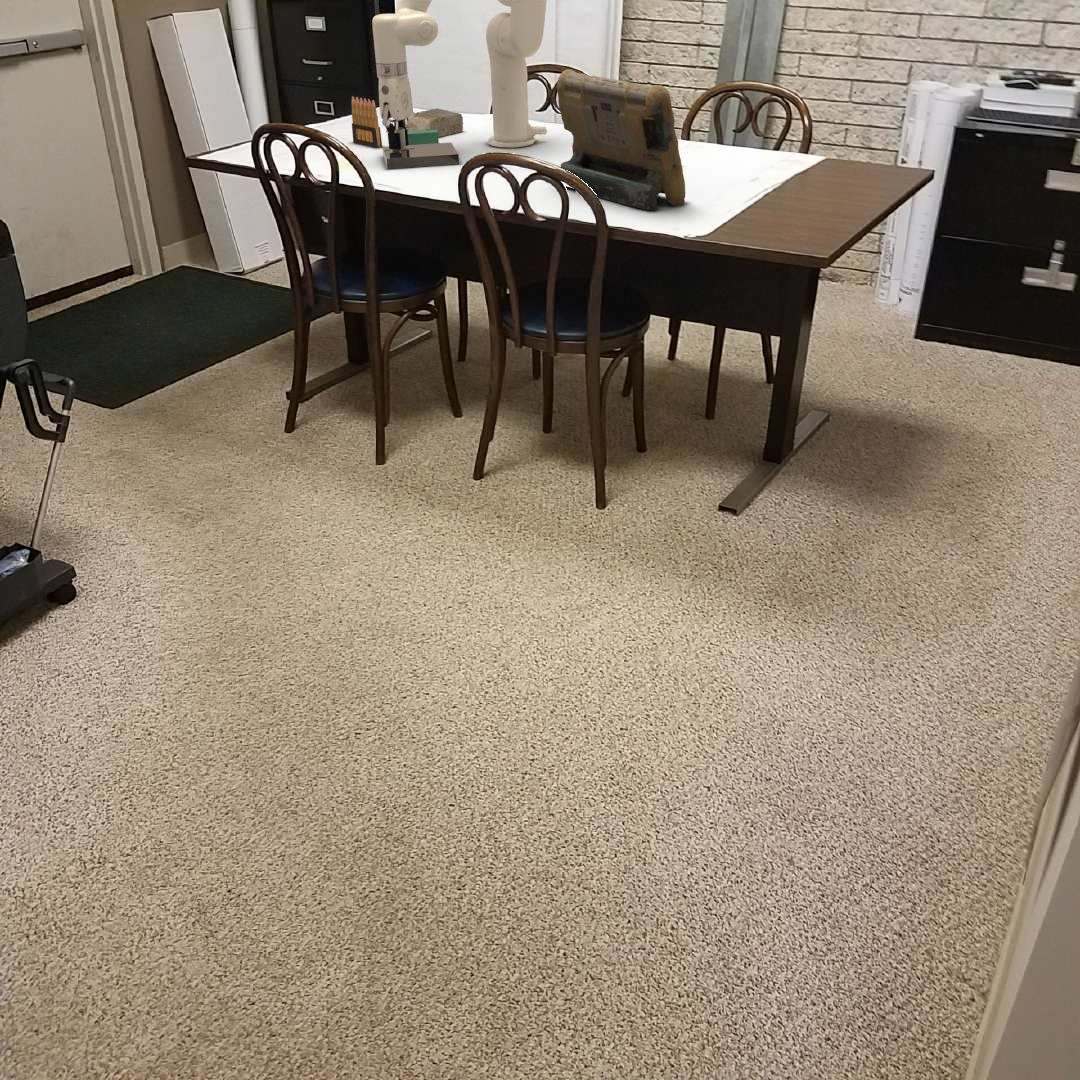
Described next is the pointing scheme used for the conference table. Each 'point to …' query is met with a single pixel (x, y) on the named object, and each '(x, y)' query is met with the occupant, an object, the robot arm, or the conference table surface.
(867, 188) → the conference table surface
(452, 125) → the geological specimen
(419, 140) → the teal post
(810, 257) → the conference table surface
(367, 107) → the ammunition clip
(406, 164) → the hob
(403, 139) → the dial
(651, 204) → the tablet
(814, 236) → the conference table surface
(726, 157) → the conference table surface
